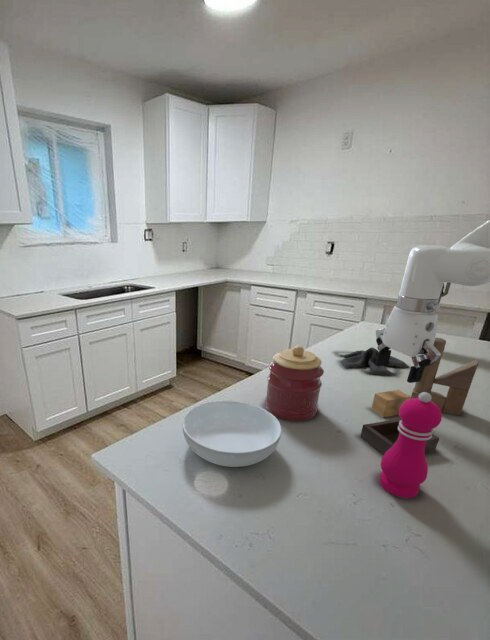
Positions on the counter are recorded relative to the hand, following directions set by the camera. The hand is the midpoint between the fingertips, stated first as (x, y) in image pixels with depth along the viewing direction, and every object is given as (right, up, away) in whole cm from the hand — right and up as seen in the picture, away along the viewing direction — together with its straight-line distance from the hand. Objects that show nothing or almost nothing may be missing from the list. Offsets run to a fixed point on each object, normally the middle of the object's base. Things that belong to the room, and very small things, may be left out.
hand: (396, 373), depth 88 cm
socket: (-5, -16, -8) cm, 19 cm away
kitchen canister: (-24, -10, +7) cm, 26 cm away
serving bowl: (-42, -17, -8) cm, 46 cm away
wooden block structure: (+14, -9, +6) cm, 17 cm away
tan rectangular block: (+1, -10, +4) cm, 11 cm away
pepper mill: (-13, -21, -20) cm, 32 cm away
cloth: (+11, +3, +33) cm, 35 cm away
